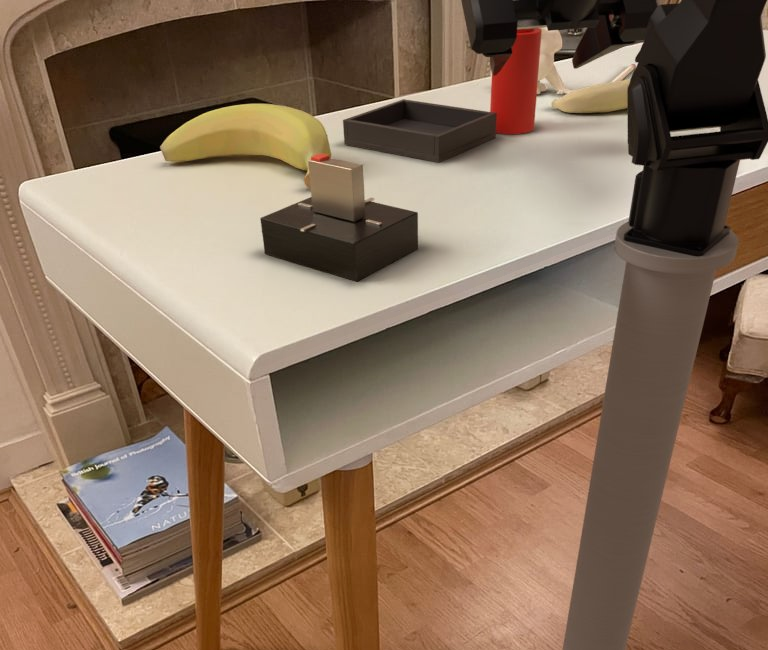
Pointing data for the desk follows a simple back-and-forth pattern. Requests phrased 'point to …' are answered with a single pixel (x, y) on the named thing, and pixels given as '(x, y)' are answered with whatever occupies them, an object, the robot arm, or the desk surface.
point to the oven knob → (337, 187)
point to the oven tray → (420, 129)
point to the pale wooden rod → (624, 73)
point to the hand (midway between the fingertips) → (533, 68)
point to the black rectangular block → (340, 238)
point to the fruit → (595, 98)
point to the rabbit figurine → (549, 61)
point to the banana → (250, 135)
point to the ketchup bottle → (517, 85)
